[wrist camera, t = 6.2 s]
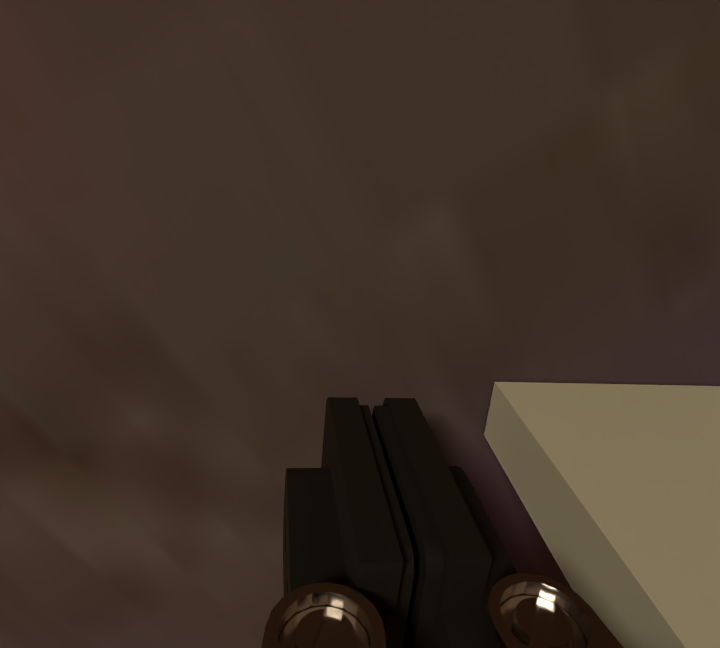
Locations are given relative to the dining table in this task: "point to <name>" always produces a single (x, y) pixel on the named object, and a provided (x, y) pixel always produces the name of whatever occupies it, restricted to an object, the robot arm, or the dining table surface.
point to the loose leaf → (622, 498)
